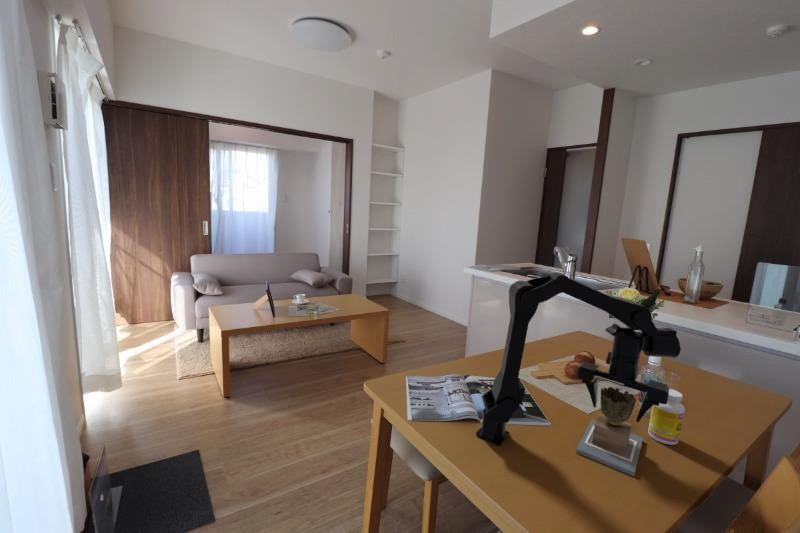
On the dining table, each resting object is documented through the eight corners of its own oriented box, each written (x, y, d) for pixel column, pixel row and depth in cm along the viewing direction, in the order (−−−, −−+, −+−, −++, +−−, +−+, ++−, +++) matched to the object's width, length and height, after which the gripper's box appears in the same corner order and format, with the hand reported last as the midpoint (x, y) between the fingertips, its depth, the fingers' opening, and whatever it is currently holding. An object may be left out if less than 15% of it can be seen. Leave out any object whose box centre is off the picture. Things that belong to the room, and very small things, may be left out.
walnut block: (624, 456, 87) (628, 436, 87) (592, 443, 92) (594, 424, 91) (628, 442, 93) (631, 423, 92) (597, 430, 97) (600, 413, 96)
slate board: (634, 476, 82) (635, 471, 82) (576, 452, 89) (576, 447, 89) (642, 441, 95) (643, 436, 95) (591, 422, 103) (591, 418, 102)
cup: (591, 422, 91) (596, 392, 90) (601, 412, 97) (606, 383, 95) (625, 437, 86) (631, 405, 85) (634, 425, 91) (639, 395, 90)
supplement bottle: (677, 449, 93) (686, 402, 91) (645, 437, 97) (654, 392, 95) (679, 438, 98) (688, 392, 96) (649, 427, 102) (657, 383, 100)
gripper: (675, 355, 89) (663, 415, 92) (590, 335, 100) (582, 389, 103) (673, 369, 80) (660, 435, 83) (580, 346, 92) (571, 404, 94)
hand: (615, 413), depth 91 cm, fingers open, 9 cm apart
